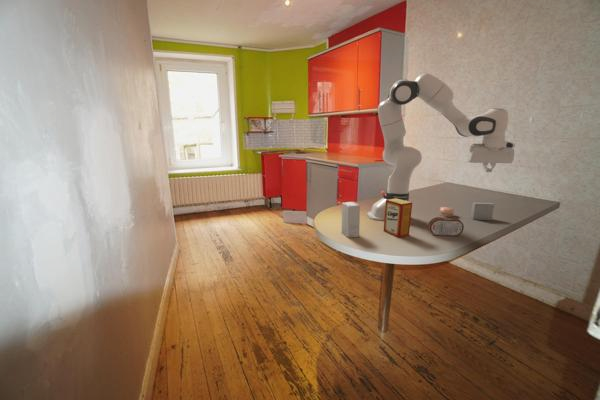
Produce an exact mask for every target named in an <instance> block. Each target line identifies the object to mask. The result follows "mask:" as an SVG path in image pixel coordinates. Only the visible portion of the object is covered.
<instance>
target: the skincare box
mask: <svg viewBox="0 0 600 400" xmlns="http://www.w3.org/2000/svg"><path fill="white" fill-rule="evenodd" d="M360 208H361V206H360V204H358V203H356V202H354V201H347V202H345V201H344V202H341V233H342V234H343V235H345V237H347V238H349V239H350V238H359V237H360V222H361V221H360V215H361V214H360V213H361V212H360V210H361V209H360Z"/></svg>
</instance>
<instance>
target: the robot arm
mask: <svg viewBox="0 0 600 400" xmlns="http://www.w3.org/2000/svg"><path fill="white" fill-rule="evenodd" d="M417 98H419V99H421V100H422V101H423V102H424V103H426V104H427V105H429V106H430V107H431V108H433V109H434V110H435V111H438V112H439V114H440V113H441V115H442V116H444V117H445V118H446V120H448V121H449V122H450V123H452V125H453V126H454V128H455V130H456V132H457V133H458V135H460V136H461V137H466V138H467V137H469V138H470V137H481V136H482V142H481V143H472V145H470V146H469V152H468V155H467V162H468V163H473V164H477V163H478V164H482V166H483V172H484V173H492V172H493V169H494V168H495V167H496V165H497V164H512V163H513V162H514V159H515V149H514V148H515V146H516V144H515V143H513V142H510V141H508V140H506V131H507V129H508V123H509V112H508V111H507V110H506V109H503V108H496V107H495V108H490V109H489V110H487V111H486V112H483V113H481V114H480V113H479V114H478V115H474V116H470V115H466V114H464V113H463V112H462V111H461V110H460V109H458V108H457V107H456V106H455V105H454V103H453V100H454V92H453V90H452V89H451V88H450V86H449V85H448V84H447V83H445V82H443V81H442V80H441V79H439V78H438V77H436V76H435V75H433V74H431V73H429V72H423V73H421V74H420V75H418V76H417V77H416V78H415V79H414V80H408V79H407V78H400V79H396V81H394V82H393V83H392V84H391V86H390V89H389V93H388V95H387V99H384V100H383V101H381V102H380V103H379V104H378V106H377V113H378V121H379V125H380V129H381V132H382V136H383V141H384V149H383V151H382V159H383V161H384V162H385V163H386V164H388V165H390V166H394V168H393V171H392V173H391V174H390V175H389V176H388V179H387V191H385V190H381V193H380V194H381V195H382V198H380V199H379V200H378V201H376V202H375V203H373V204H372V207H371V210H370V211H369V210H368V211H367V217H368V218H370V219H371V220H375V221H384V219H385V206H386V200H388V199H394V198H397V199H401V200H405V201H409V200H410V193H409V189H410V181H411V177H412V175H413V172H414V170H415V169H416V168H417V167H418V166H420V163H421V162H422V158H423V157H422V153H421V151H420V150H419V149H417V148H415V147H412V146H405V145H404V137H405V136H406V134H407V132H406V128H405V127H406V126H405V124H404V123H405V122H404V119H403V116H402V113H401V112H402V110H401V107H402V105H403V106H404V105H407V104H409V103H411V101H413V100H414V99H417ZM488 165H490V166H489V167H488ZM409 202H410V201H409Z"/></svg>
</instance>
